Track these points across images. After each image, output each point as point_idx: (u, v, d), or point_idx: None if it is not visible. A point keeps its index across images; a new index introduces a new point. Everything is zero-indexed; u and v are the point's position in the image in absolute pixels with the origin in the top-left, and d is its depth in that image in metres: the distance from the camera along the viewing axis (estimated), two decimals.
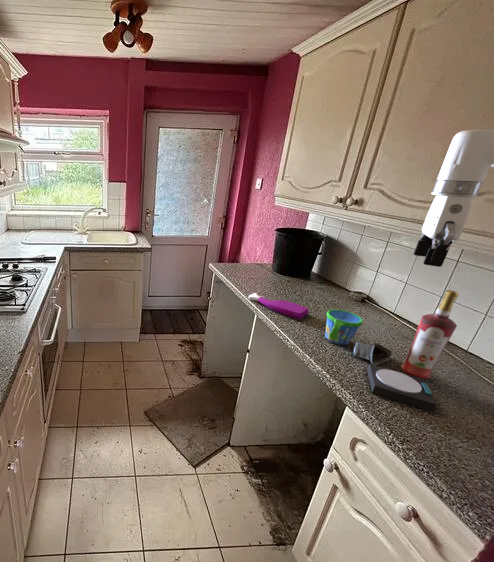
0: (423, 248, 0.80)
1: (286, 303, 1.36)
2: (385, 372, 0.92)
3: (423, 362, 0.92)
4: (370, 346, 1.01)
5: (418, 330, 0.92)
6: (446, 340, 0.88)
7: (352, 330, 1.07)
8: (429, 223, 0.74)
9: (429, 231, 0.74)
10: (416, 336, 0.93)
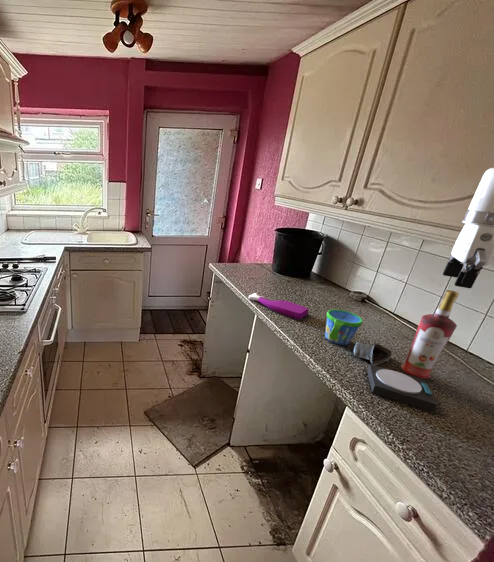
0: (452, 269, 0.88)
1: (286, 303, 1.36)
2: (385, 372, 0.92)
3: (423, 362, 0.92)
4: (370, 346, 1.01)
5: (418, 330, 0.92)
6: (446, 340, 0.88)
7: (352, 330, 1.07)
8: (460, 248, 0.82)
9: (460, 256, 0.82)
10: (416, 336, 0.93)
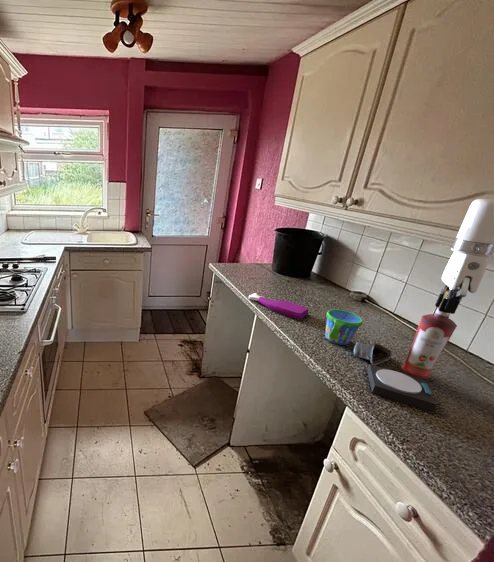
0: None
1: (286, 303, 1.36)
2: (385, 372, 0.92)
3: (423, 362, 0.92)
4: (370, 346, 1.01)
5: (418, 330, 0.92)
6: (446, 340, 0.88)
7: (352, 330, 1.07)
8: (449, 275, 0.85)
9: (449, 282, 0.84)
10: (416, 336, 0.93)
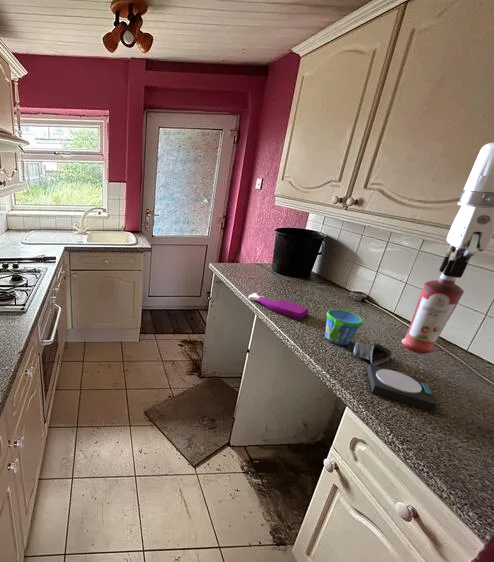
0: None
1: (286, 303, 1.36)
2: (385, 372, 0.92)
3: (425, 334, 0.82)
4: (370, 346, 1.01)
5: (420, 298, 0.83)
6: (452, 308, 0.78)
7: (352, 330, 1.07)
8: (455, 233, 0.75)
9: (455, 241, 0.75)
10: (418, 305, 0.83)
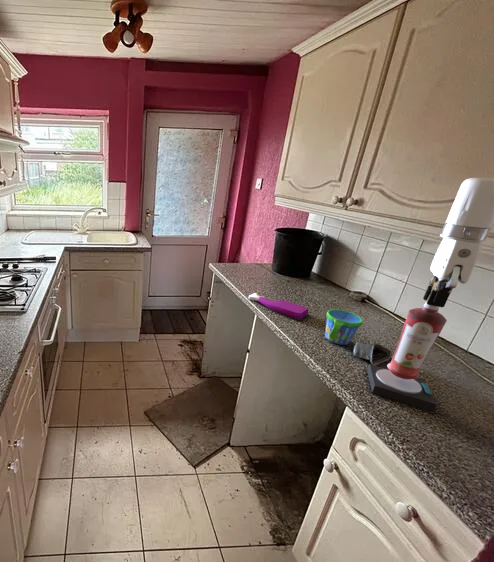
0: None
1: (286, 303, 1.36)
2: (385, 372, 0.92)
3: (410, 361, 0.84)
4: (370, 346, 1.01)
5: (405, 326, 0.84)
6: (435, 336, 0.80)
7: (352, 330, 1.07)
8: (438, 264, 0.76)
9: (438, 272, 0.76)
10: (403, 332, 0.85)
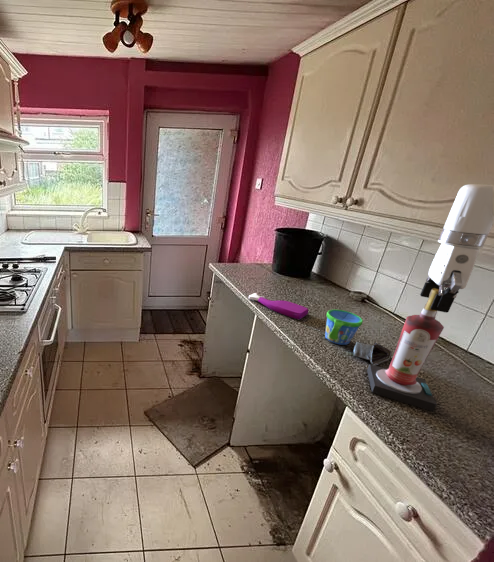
0: (429, 290, 0.83)
1: (286, 303, 1.36)
2: None
3: (407, 367, 0.84)
4: (370, 346, 1.01)
5: (402, 332, 0.85)
6: (432, 343, 0.80)
7: (352, 330, 1.07)
8: (436, 269, 0.77)
9: (436, 277, 0.76)
10: (400, 339, 0.85)
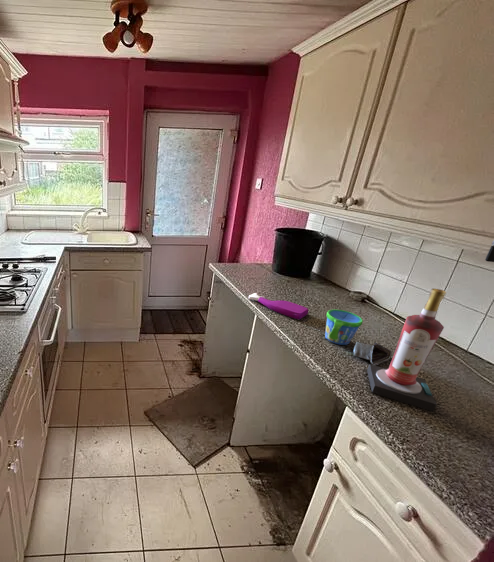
0: None
1: (286, 303, 1.36)
2: None
3: (407, 367, 0.84)
4: (370, 346, 1.01)
5: (402, 332, 0.85)
6: (432, 343, 0.80)
7: (353, 330, 1.07)
8: None
9: None
10: (400, 339, 0.85)
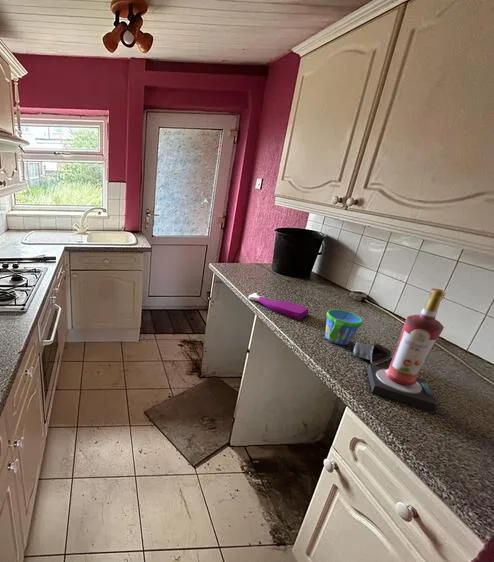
0: None
1: (286, 303, 1.36)
2: None
3: (407, 367, 0.84)
4: (370, 346, 1.01)
5: (402, 332, 0.85)
6: (432, 343, 0.80)
7: (352, 330, 1.07)
8: None
9: None
10: (400, 339, 0.85)
